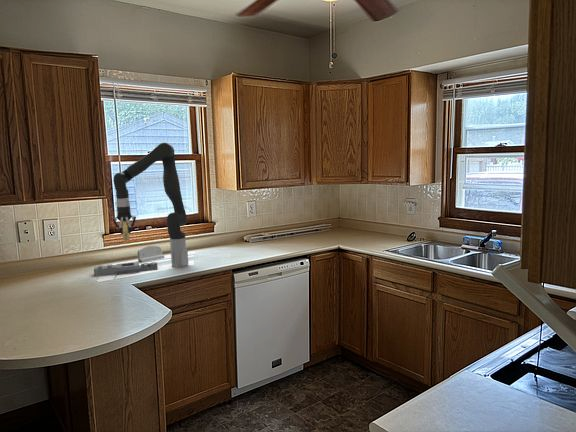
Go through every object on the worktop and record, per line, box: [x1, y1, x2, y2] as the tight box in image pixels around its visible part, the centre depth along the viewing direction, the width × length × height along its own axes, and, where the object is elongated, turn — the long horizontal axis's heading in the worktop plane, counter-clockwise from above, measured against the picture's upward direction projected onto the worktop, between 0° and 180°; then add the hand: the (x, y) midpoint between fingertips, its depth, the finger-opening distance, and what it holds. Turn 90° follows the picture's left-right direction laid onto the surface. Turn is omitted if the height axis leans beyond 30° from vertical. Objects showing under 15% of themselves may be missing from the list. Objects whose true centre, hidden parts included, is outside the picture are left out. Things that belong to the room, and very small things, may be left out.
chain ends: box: [93, 261, 158, 277], centre depth 258 cm, size 35×11×5 cm, turn 110°
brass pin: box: [121, 220, 131, 241], centre depth 265 cm, size 4×4×12 cm
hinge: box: [137, 245, 165, 263], centre depth 288 cm, size 17×5×10 cm, turn 134°
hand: (125, 233), depth 266 cm, fingers closed on brass pin, 4 cm apart
